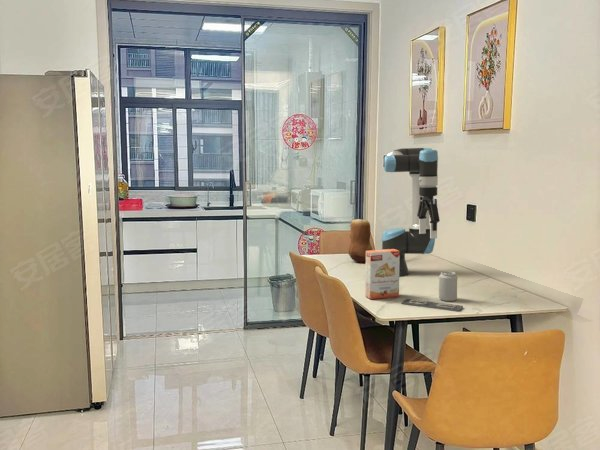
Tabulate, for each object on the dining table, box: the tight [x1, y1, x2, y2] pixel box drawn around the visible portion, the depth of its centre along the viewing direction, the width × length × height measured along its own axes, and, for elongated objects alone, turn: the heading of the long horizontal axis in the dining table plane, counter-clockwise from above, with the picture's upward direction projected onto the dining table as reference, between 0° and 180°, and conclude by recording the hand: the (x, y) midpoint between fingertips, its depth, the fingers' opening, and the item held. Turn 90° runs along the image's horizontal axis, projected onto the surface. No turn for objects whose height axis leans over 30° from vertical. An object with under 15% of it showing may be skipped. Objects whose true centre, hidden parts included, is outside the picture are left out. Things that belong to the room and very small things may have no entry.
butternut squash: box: [348, 218, 374, 264], centre depth 320 cm, size 14×13×25 cm
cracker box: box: [365, 249, 400, 300], centre depth 244 cm, size 14×6×21 cm, turn 106°
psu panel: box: [401, 298, 464, 313], centre depth 230 cm, size 6×24×1 cm, turn 58°
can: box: [438, 270, 458, 303], centre depth 238 cm, size 8×8×12 cm
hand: (427, 235), depth 239 cm, fingers open, 13 cm apart
